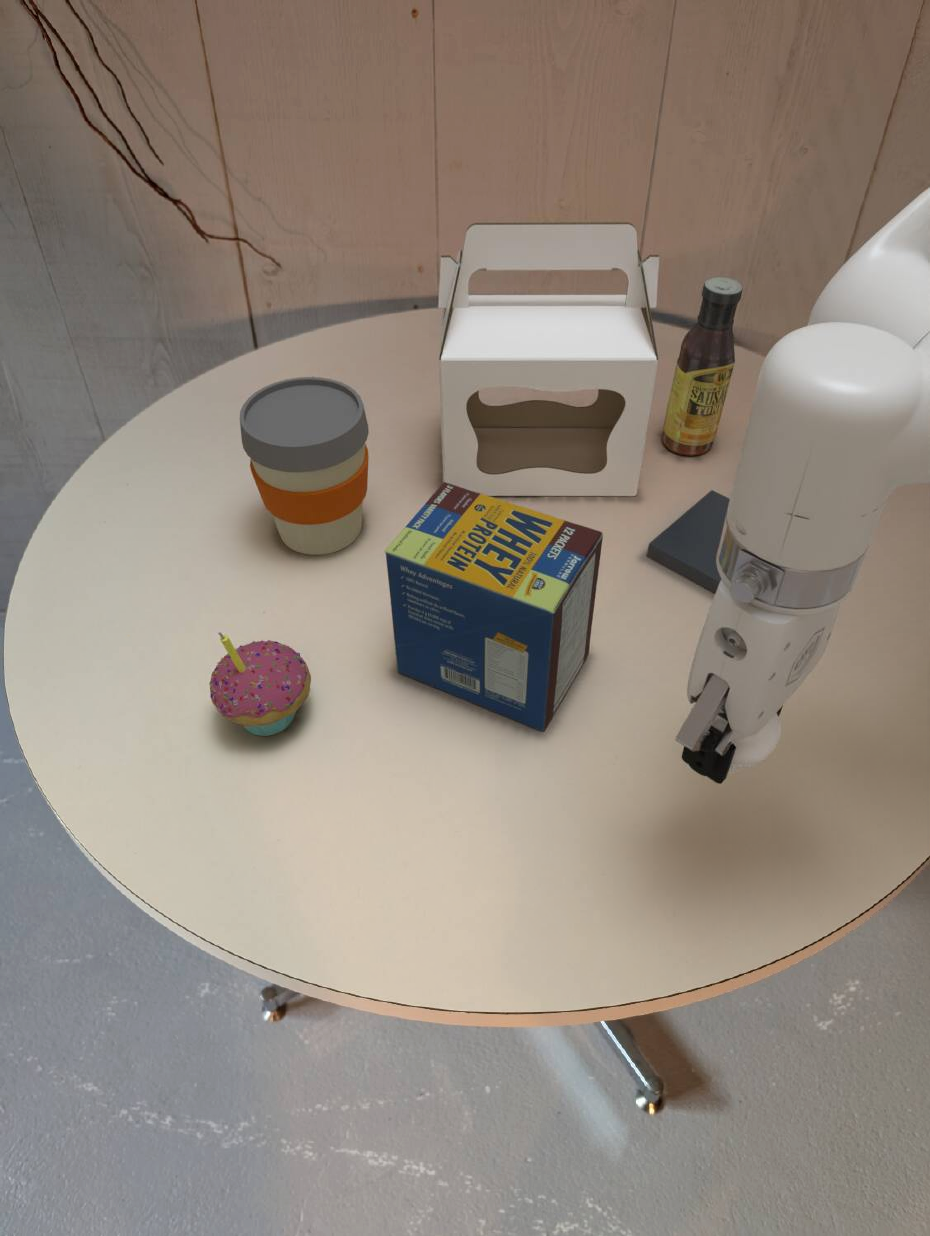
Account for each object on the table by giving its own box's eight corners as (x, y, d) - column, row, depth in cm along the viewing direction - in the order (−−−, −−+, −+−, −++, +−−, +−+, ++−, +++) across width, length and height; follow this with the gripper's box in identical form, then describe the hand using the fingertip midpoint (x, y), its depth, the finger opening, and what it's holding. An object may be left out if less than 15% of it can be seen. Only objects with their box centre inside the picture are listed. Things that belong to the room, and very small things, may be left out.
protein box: (447, 602, 91) (442, 478, 80) (590, 655, 86) (606, 531, 75) (394, 673, 85) (381, 550, 74) (544, 735, 80) (555, 612, 68)
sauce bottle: (679, 464, 106) (711, 305, 92) (650, 435, 110) (676, 279, 96) (726, 450, 108) (764, 292, 94) (696, 422, 112) (728, 266, 98)
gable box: (626, 429, 111) (659, 194, 91) (638, 497, 102) (678, 254, 82) (445, 428, 112) (438, 195, 91) (441, 497, 103) (432, 254, 82)
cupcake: (242, 768, 78) (212, 679, 69) (206, 702, 83) (174, 611, 74) (332, 725, 81) (314, 634, 72) (292, 663, 86) (271, 571, 77)
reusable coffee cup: (266, 574, 94) (238, 456, 83) (260, 499, 103) (234, 383, 92) (386, 557, 96) (374, 439, 85) (370, 484, 104) (357, 368, 93)
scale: (832, 564, 94) (841, 539, 92) (773, 627, 88) (781, 601, 86) (708, 502, 101) (714, 477, 99) (646, 556, 95) (650, 531, 93)
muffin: (787, 775, 63) (812, 714, 58) (709, 802, 62) (728, 742, 57) (739, 709, 67) (759, 647, 62) (666, 733, 66) (680, 672, 61)
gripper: (769, 674, 44) (708, 854, 57) (923, 501, 53) (839, 693, 66) (642, 601, 48) (612, 787, 61) (805, 450, 56) (748, 642, 69)
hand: (730, 737), depth 63 cm, fingers closed on muffin, 6 cm apart
